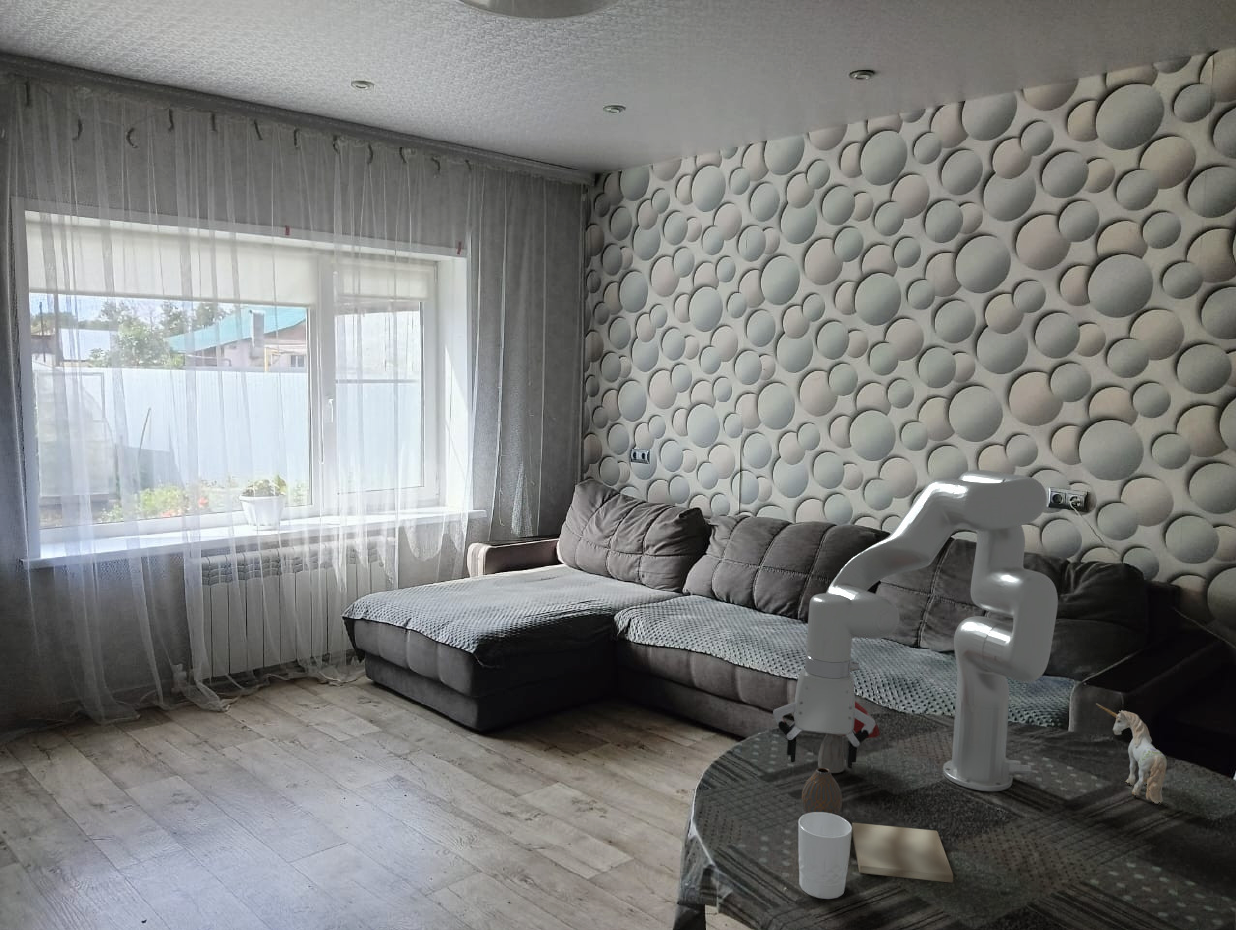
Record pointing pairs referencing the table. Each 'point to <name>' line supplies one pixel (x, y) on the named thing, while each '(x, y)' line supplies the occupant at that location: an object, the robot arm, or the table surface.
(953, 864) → the table surface
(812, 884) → the white cup
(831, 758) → the decorative mushroom
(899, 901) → the table surface
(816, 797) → the vase
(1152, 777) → the unicorn figurine
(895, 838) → the birch pad
